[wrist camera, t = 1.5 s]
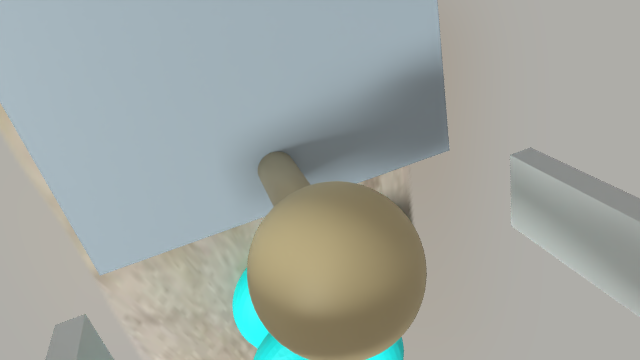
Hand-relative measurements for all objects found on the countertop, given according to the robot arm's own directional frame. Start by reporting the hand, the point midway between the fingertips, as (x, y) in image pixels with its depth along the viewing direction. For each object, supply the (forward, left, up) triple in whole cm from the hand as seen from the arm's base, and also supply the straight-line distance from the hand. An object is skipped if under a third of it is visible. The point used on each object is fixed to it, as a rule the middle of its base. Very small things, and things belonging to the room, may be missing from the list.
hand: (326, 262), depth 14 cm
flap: (-7, -5, -7) cm, 12 cm away
